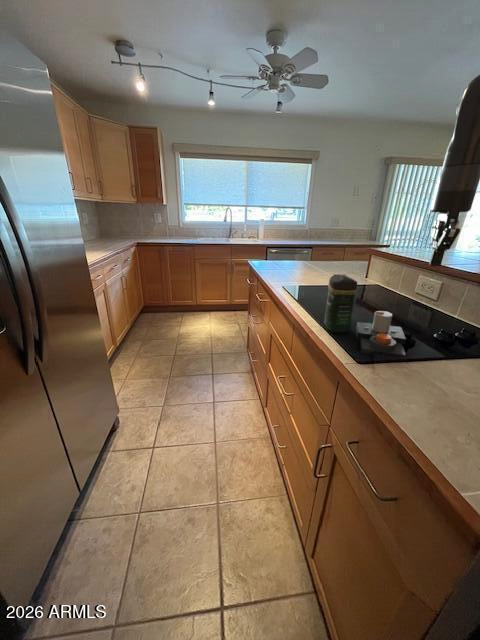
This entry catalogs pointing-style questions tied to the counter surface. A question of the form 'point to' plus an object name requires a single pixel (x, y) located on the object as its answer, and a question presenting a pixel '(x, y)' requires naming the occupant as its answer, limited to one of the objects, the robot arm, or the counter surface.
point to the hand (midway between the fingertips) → (434, 265)
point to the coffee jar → (340, 303)
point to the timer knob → (381, 321)
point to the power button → (383, 338)
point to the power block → (381, 347)
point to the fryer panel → (366, 332)
